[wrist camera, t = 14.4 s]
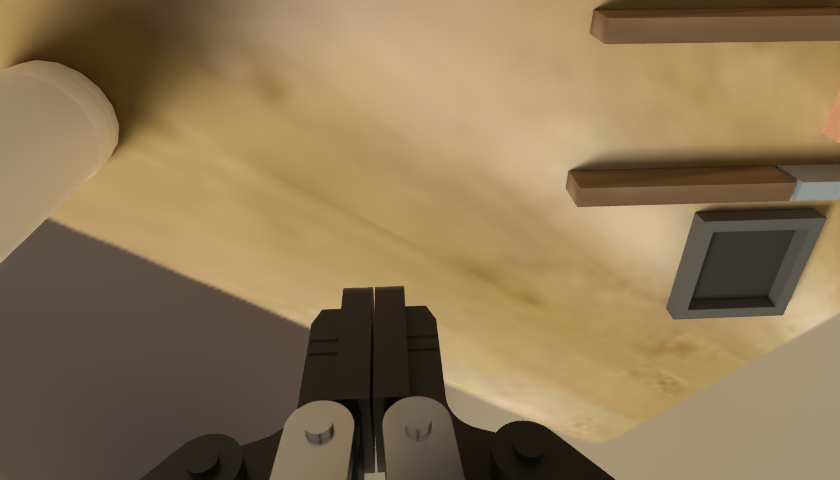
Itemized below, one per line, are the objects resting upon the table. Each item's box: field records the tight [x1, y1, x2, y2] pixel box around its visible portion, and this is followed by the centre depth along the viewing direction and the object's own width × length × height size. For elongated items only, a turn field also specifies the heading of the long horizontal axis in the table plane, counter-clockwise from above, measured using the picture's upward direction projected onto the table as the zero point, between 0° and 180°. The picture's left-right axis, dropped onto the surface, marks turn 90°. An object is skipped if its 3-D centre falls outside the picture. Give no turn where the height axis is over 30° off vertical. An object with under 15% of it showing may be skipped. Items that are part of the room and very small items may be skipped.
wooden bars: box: [566, 7, 840, 207], centre depth 39 cm, size 13×16×3 cm
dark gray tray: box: [666, 209, 827, 319], centre depth 47 cm, size 10×10×2 cm
